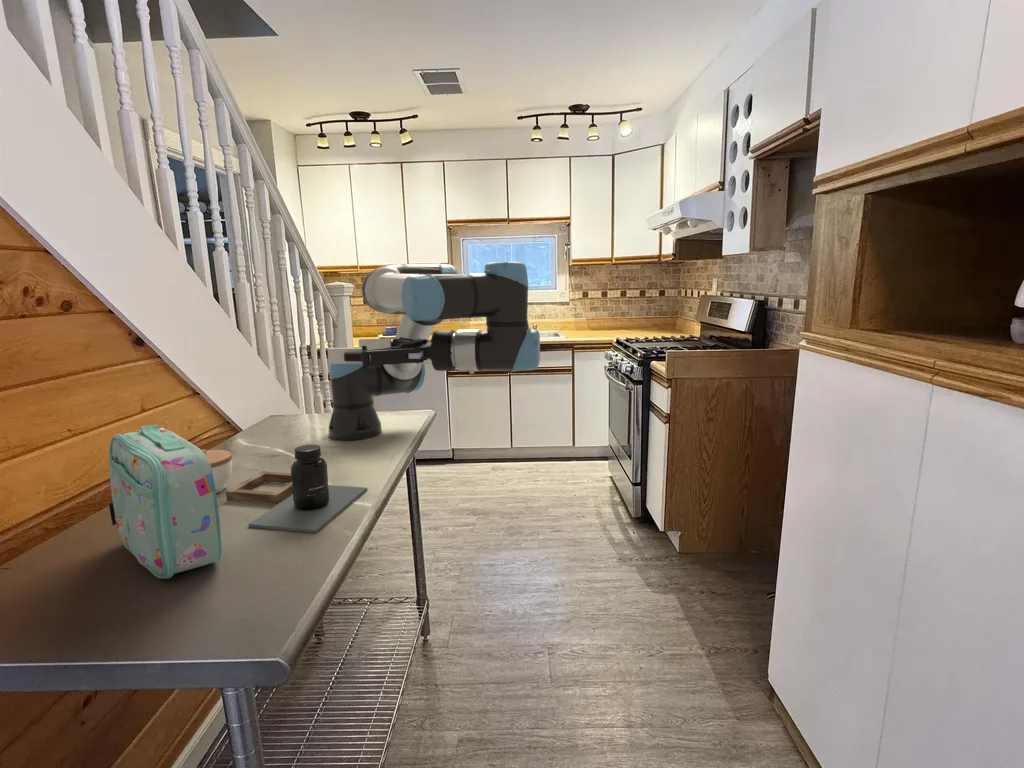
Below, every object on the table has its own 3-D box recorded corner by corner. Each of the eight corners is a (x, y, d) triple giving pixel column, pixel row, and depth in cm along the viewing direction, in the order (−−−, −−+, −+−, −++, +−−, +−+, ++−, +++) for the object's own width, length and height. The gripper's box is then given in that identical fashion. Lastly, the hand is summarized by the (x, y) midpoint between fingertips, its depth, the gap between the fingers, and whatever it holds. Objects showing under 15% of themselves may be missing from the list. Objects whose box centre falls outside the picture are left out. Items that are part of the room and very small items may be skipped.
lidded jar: (173, 491, 117) (167, 451, 116) (225, 478, 125) (220, 439, 123) (189, 505, 110) (183, 461, 108) (243, 489, 118) (238, 449, 116)
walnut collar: (264, 479, 124) (263, 471, 123) (310, 482, 121) (309, 474, 121) (226, 500, 112) (225, 491, 112) (277, 504, 110) (276, 495, 109)
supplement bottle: (318, 512, 104) (312, 454, 102) (287, 510, 105) (280, 452, 103) (336, 498, 111) (331, 443, 108) (306, 496, 112) (301, 441, 110)
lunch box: (110, 541, 95) (89, 426, 91) (174, 521, 103) (157, 413, 99) (162, 596, 79) (139, 457, 74) (234, 566, 86) (217, 439, 82)
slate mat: (309, 486, 119) (309, 483, 119) (367, 490, 116) (367, 487, 116) (248, 526, 100) (248, 523, 100) (316, 533, 97) (315, 529, 97)
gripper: (439, 383, 87) (315, 383, 89) (469, 360, 111) (371, 360, 113) (437, 337, 85) (311, 338, 88) (468, 323, 109) (369, 324, 112)
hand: (345, 350), depth 101 cm, fingers open, 13 cm apart
